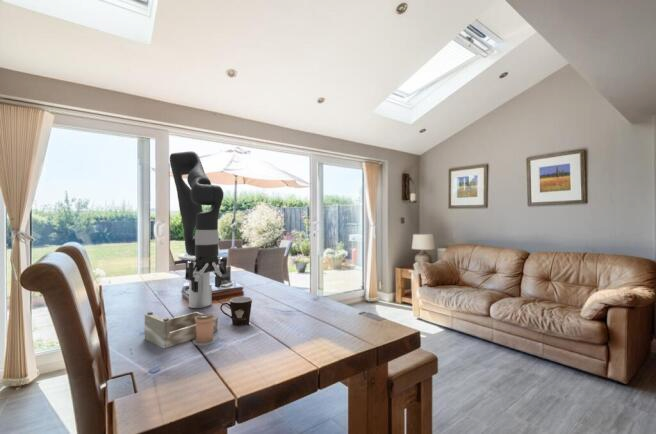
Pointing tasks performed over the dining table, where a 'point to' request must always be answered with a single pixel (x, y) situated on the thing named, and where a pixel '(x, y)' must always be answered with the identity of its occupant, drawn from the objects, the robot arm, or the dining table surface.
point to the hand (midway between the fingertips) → (206, 289)
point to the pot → (204, 328)
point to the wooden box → (172, 329)
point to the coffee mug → (239, 310)
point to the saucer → (215, 339)
